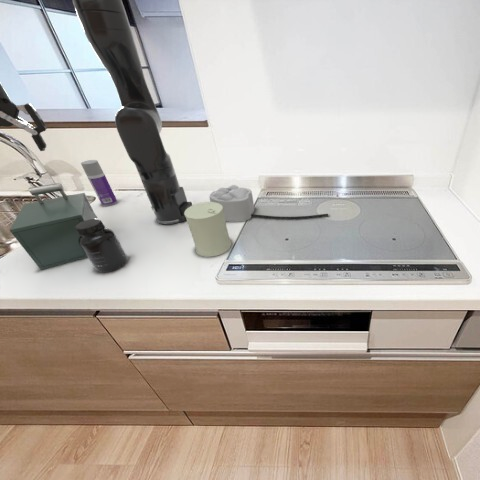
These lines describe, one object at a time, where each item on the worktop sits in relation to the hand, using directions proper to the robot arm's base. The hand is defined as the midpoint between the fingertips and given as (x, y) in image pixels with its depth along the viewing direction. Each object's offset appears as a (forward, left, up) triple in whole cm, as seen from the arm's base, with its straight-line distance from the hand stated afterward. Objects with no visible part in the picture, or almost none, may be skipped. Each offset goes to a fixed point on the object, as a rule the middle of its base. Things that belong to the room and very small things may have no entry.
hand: (20, 153), depth 64 cm
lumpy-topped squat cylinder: (-44, -13, -24) cm, 52 cm away
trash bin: (-6, +7, -24) cm, 25 cm away
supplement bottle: (-21, +14, -24) cm, 35 cm away
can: (-44, +6, -24) cm, 51 cm away
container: (+3, -20, -24) cm, 31 cm away
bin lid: (-6, +6, -13) cm, 16 cm away
